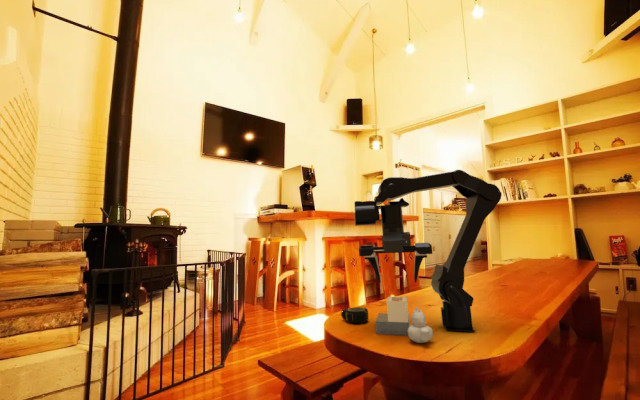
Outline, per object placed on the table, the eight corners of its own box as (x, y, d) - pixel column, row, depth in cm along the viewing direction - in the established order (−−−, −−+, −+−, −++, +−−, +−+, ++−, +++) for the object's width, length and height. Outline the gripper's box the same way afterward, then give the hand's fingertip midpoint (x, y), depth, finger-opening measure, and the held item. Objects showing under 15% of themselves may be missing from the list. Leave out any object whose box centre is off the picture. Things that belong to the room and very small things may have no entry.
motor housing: (409, 325, 76) (407, 298, 77) (409, 335, 69) (406, 305, 70) (379, 324, 79) (377, 298, 80) (376, 333, 71) (374, 304, 72)
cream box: (389, 315, 76) (388, 294, 77) (408, 316, 75) (406, 295, 75) (388, 321, 71) (386, 299, 71) (408, 322, 69) (406, 299, 70)
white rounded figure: (426, 337, 67) (422, 302, 68) (440, 347, 61) (436, 308, 62) (404, 339, 67) (401, 303, 68) (416, 349, 60) (412, 310, 61)
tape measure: (361, 317, 87) (360, 305, 87) (373, 323, 81) (372, 309, 81) (341, 321, 84) (340, 308, 85) (352, 327, 78) (351, 312, 79)
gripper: (353, 225, 73) (357, 287, 70) (431, 220, 67) (438, 287, 65) (360, 226, 83) (364, 280, 81) (427, 222, 78) (433, 280, 76)
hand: (397, 282), depth 75 cm, fingers open, 9 cm apart
